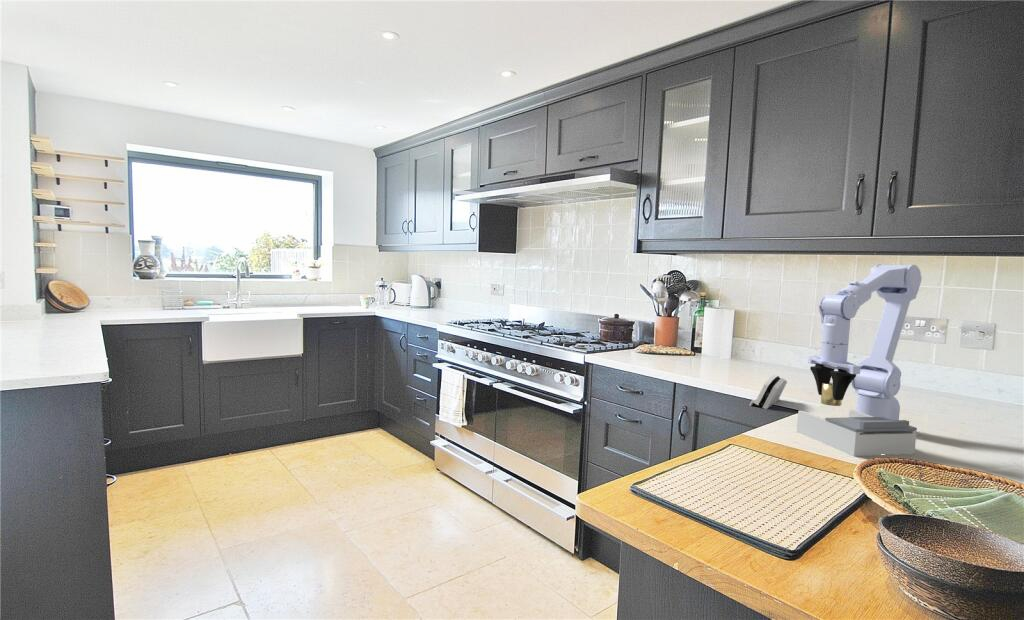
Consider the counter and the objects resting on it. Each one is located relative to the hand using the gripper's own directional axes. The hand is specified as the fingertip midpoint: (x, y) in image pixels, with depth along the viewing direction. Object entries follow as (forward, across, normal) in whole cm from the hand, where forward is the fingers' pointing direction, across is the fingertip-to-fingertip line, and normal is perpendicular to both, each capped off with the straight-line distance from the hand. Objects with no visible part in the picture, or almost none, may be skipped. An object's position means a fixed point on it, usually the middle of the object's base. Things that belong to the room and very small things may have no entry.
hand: (830, 397), depth 134 cm
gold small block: (+2, 0, 0) cm, 2 cm away
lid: (+4, +10, +2) cm, 11 cm away
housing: (+10, +6, +2) cm, 12 cm away
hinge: (+10, -32, +7) cm, 34 cm away
